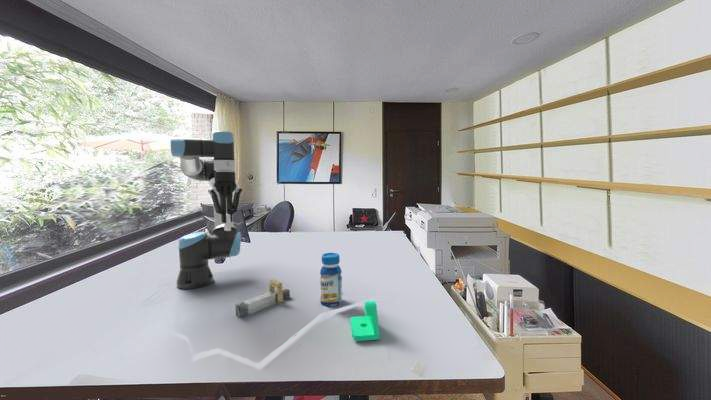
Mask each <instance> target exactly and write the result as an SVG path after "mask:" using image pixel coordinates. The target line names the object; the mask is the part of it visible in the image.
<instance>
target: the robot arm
mask: <svg viewBox="0 0 711 400" xmlns="http://www.w3.org/2000/svg"><path fill="white" fill-rule="evenodd" d="M170 152H171V156H172V157H177V158H179V160H180V165H179V168H180V170H181V172H182V173H183V174H184V175H185V176H186V177H187V178H189V179H192V180H193V181H194V180H195V181H199V182H208V184H209V186H211V189H208V190H207V193H208V194H209V195H210V197H211V200H212V204H213V217H214V218H213V220H214V228H213V229H212V230H211V234H208V233H207V232H206V231H199V232H193V233H189V234H185V235H183V236H182V237H179V239H178V248H177V249H178V252H179V253H178V255H179V271H178V275H177V278H176V287H177V288H178V289H180V290H181V289H183V290H191V289H197V288H203V287H206V286H208V285H210V284H211V283H213V282H214V275H213V273H212V270H211V268H210V265H209V260H217V259H224V258H231V257H237V256H239V254H240V252H241V243H242V232H240V231H238V228H237V227H236V226H234V225H235V224H234V214H235V213H237V212H238V208H239V207H238V206H239V202H240V196H241V193H242V192H243V189H242V188H241V187H238V185H237V183H236V172H235V171H236V163H235V139H234V134H233V132H232V131H230V130H229V131H227V130H216V131H215V130H214V131H213V132H212V138H198V137H197V138H195V137H194V138H193V137H182V136H180V137H171V139H170ZM233 193H234V194H233Z"/></svg>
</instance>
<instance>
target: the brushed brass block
mask: <svg viewBox="0 0 711 400" xmlns="http://www.w3.org/2000/svg"><path fill="white" fill-rule="evenodd" d="M268 282H269V284H268V285H269V292H271V291H274V290H276V289H277V305H281V304H282V303H284V300H283V293H282V290H283V282H281V281H280V280H279V281H278V280H277V279H271V280H269V281H268ZM275 288H276V289H275Z"/></svg>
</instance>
